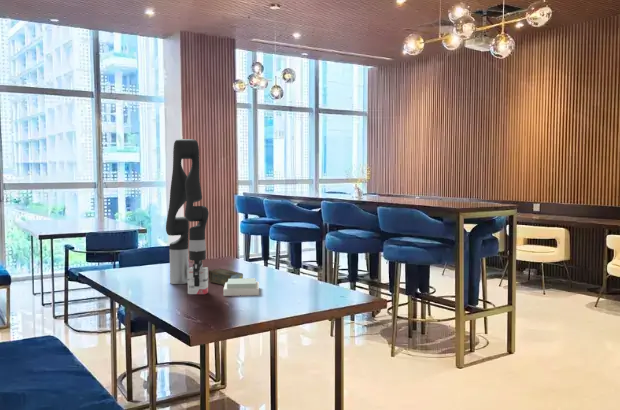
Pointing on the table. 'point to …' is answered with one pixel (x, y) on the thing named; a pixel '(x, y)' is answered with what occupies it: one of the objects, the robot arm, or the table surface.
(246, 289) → the mint framed tile
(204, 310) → the table surface
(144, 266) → the table surface
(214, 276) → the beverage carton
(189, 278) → the ink box
